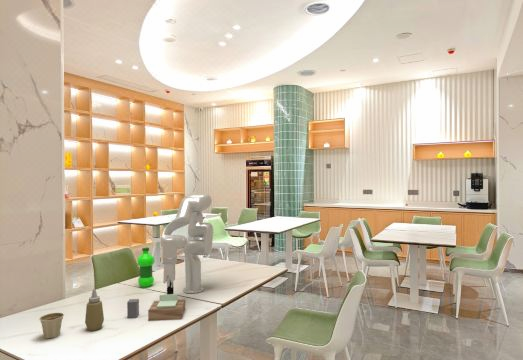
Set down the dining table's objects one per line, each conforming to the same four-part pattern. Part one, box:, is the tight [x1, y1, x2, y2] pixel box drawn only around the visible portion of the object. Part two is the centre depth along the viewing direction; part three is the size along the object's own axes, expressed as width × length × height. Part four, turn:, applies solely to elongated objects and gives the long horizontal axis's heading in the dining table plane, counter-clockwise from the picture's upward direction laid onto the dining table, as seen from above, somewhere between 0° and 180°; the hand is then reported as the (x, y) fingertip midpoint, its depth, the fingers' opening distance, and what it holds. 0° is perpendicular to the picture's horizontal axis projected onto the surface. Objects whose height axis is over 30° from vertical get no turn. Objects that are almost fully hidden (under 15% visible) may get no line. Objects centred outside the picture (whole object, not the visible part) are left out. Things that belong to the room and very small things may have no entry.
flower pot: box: [39, 312, 65, 339], centre depth 156 cm, size 9×9×9 cm
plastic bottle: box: [136, 246, 155, 288], centre depth 230 cm, size 10×10×25 cm
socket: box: [147, 299, 186, 322], centre depth 179 cm, size 14×16×5 cm
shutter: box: [157, 293, 179, 308], centre depth 179 cm, size 9×9×4 cm
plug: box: [126, 298, 140, 319], centre depth 178 cm, size 4×4×8 cm
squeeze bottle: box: [84, 288, 105, 331], centre depth 164 cm, size 8×8×18 cm
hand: (170, 294), depth 188 cm, fingers closed
